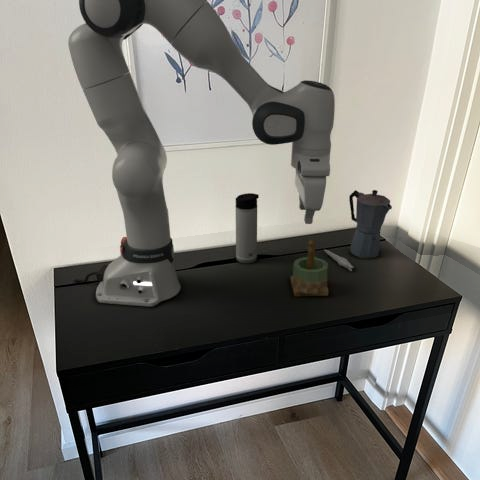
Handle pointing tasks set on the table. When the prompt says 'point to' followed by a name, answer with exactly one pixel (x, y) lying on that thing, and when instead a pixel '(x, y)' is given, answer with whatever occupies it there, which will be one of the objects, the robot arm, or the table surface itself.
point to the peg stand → (310, 267)
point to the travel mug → (246, 227)
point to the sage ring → (310, 275)
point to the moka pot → (368, 223)
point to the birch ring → (310, 286)
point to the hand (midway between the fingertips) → (305, 215)
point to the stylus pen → (340, 260)
